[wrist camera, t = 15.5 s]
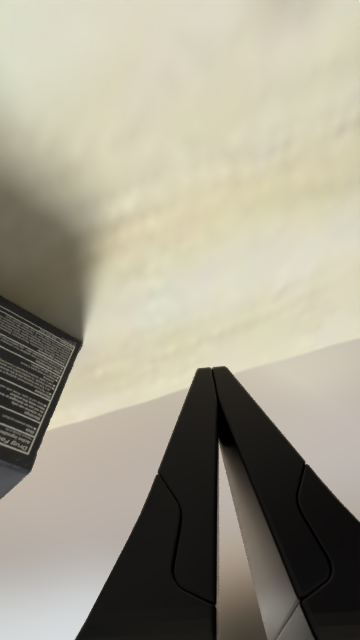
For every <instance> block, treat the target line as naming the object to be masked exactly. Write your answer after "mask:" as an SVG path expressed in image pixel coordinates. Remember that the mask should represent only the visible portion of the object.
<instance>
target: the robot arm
mask: <svg viewBox="0 0 360 640" xmlns="http://www.w3.org/2000/svg"><path fill="white" fill-rule="evenodd" d="M219 444H220V449H221V453H222V457H223V461H224V465H225V470H226V474H227V477H228V482H229V486H230V490H231V494H232V497H233V502H234V505H235V510H236V514H237V518H238V522H239V526H240V530H241V534H242V538H243V543H244V546H245V551H246V555H247V559H248V563H249V566H250V571H251V575H252V579H253V583H254V587H255V591H256V595H257V599H258V603H259V607H260V611H261V616H262V620H263V624H264V628H265V632H266V636H267V640H360V522H359V521H358V520H357V519H356V518H355V516H354V515H353V514H352V513H351V512H349V510H348V509H347V508H346V507H344V505H343V504H342V503H341V502H340V501H339V500H338V499H337V497H336V496H335V495H334V494H333V493H332V492H331V491H330V490H329V489H328V487H327V486H326V485H325V484H324V483H323V482H322V480H321V479H320V478H319V477H318V476H317V475H316V473H315V472H314V471H313V470H312V468H311V467H310V466H309V465H308V464H306V465H305V463H306V462H305V460H304V459H303V458H302V457H301V456H300V455H299V453H298V452H297V451H296V449H295V448H294V447H293V446H292V445H291V444H290V442H289V441H288V440H287V439H286V438H285V436H284V435H283V434H282V433H281V432H280V430H279V429H278V428H277V427H276V426H275V424H274V423H273V422H272V421H271V420H270V418H269V417H268V416H267V415H266V414H265V412H264V411H263V410H262V409H261V408H260V406H259V405H258V404H257V403H256V402H255V400H253V398H252V397H251V396H250V394H249V393H248V392H247V391H246V390H245V388H244V387H243V386H242V385H241V384H240V382H239V381H238V380H237V379H236V378H235V377H234V375H233V374H232V373H231V372H230V371H229V369H228V368H227V367H225V366H220V367H213V368H212V369H211V368H210V367H207V368H198V369H197V371H196V373H195V376H194V378H193V381H192V384H191V386H190V389H189V392H188V394H187V397H186V399H185V402H184V404H183V407H182V410H181V412H180V415H179V417H178V420H177V423H176V425H175V428H174V430H173V433H172V436H171V438H170V441H169V443H168V446H167V449H166V451H165V454H164V457H163V459H162V462H161V464H160V467H159V469H158V474H157V475H156V477H155V479H154V482H153V484H152V487H151V490H150V492H149V494H148V497H147V499H146V502H145V504H144V506H143V509H142V511H141V514H140V516H139V518H138V520H137V522H136V524H135V526H134V528H133V530H132V532H131V534H130V536H129V538H128V540H127V542H126V544H125V546H124V548H123V550H122V552H121V554H120V556H119V558H118V560H117V562H116V564H115V565H114V567H113V570H112V571H111V573H110V575H109V577H108V579H107V581H106V583H105V585H104V587H103V589H102V591H101V593H100V595H99V596H98V598H97V600H96V602H95V604H94V606H93V608H92V610H91V612H90V614H89V616H88V618H87V619H86V621H85V623H84V625H83V626H82V628H81V630H80V632H79V633H78V635H77V637H76V639H75V640H219Z"/></svg>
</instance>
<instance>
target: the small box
mask: <svg viewBox="0 0 360 640" xmlns="http://www.w3.org/2000/svg"><path fill="white" fill-rule="evenodd" d="M81 347H82V343H81V342H80V341H78V340H76V339H75V338H73V337H71V336H69V335H68V334H66V333H64V332H62V331H60V330H59V329H57V328H55V327H53V326H51V325H50V324H48V323H46V322H44V321H42V320H41V319H39V318H37V317H35V316H34V315H32V314H30V313H28V312H27V311H25V310H23V309H21V308H19V307H18V306H16V305H14V304H12V303H11V302H9V301H7V300H5V299H3V298H2V297H0V499H1V498H2V497H4V496H5V495H6V494H7V493H8V492H9V491H10V490H11V489H13V488H14V487H15V486H16V485H17V484H18V483H19V482H20V481H22V480H23V478H25V477H26V476H27V475H28V474H29V473H30V472H31V470H32V467H33V465H34V462H35V459H36V456H37V451H38V449H39V447H40V445H41V443H42V439H43V436H44V434H45V432H46V429H47V427H48V425H49V422H50V419H51V417H52V415H53V413H54V411H55V408H56V406H57V404H58V401H59V398H60V396H61V394H62V391H63V389H64V386H65V383H66V381H67V379H68V376H69V374H70V372H71V369H72V367H73V364H74V361H75V359H76V357H77V354H78V353H79V351H80V350H81Z"/></svg>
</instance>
